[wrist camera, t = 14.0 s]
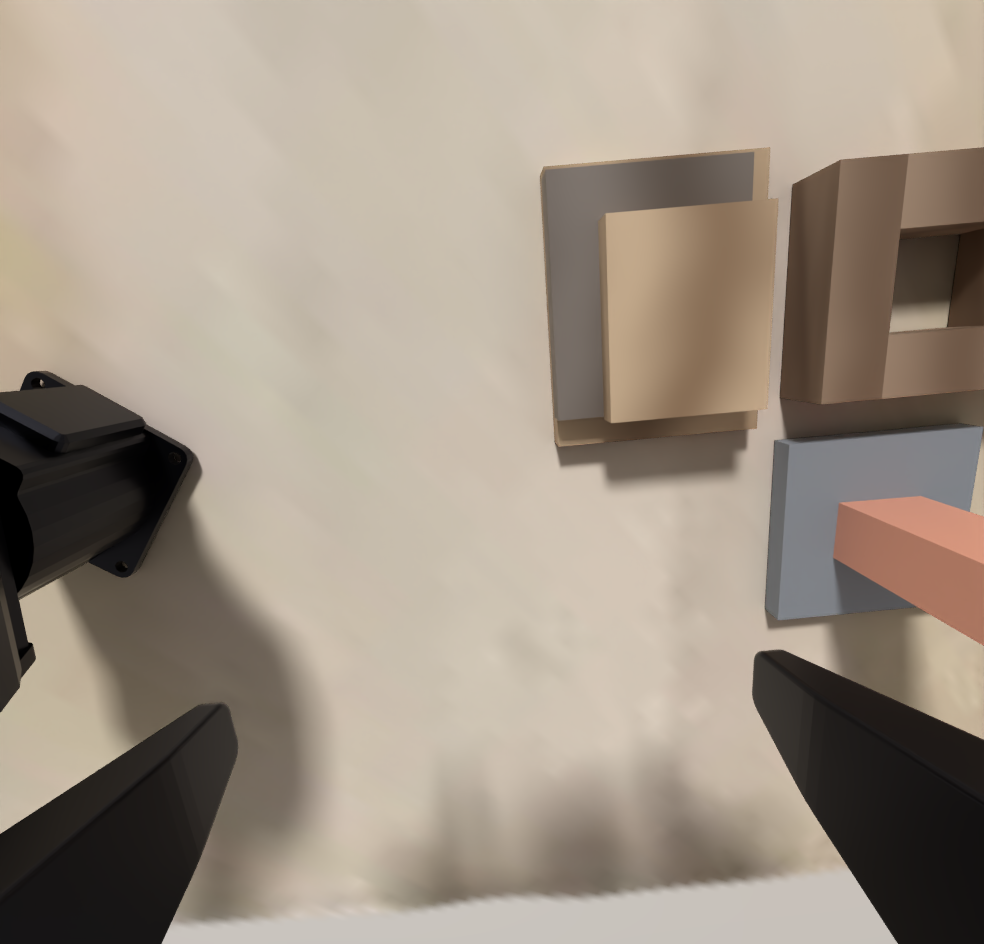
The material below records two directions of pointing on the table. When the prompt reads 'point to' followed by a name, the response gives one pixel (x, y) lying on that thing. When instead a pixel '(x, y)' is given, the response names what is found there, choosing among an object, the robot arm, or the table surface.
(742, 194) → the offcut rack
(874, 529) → the pink bar
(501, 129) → the table surface
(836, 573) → the grey mat
